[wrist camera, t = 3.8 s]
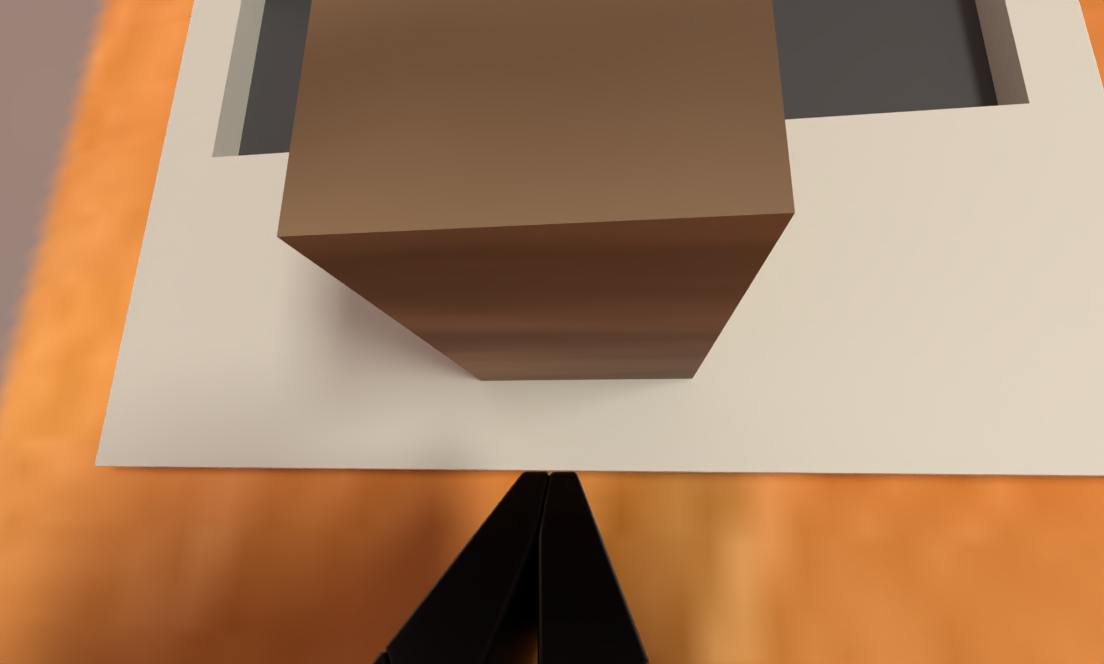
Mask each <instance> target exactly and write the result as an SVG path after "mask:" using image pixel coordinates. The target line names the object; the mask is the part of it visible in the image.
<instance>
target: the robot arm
mask: <svg viewBox="0 0 1104 664" xmlns="http://www.w3.org/2000/svg"><path fill="white" fill-rule="evenodd" d="M372 664H649V659H648V656H647V654H646V651H645V649H644V646H643V643H642V641H641V638H640V636H639V633H638V630H637V628H636V625H635V623H634V620H633V617H632V615H631V612H630V610H629V607H628V604H627V602H626V599H625V597H624V594H623V591H622V589H621V586H620V584H619V581H618V578H617V576H616V573H615V571H614V568H613V565H612V563H611V560H610V558H609V555H608V552H607V550H606V547H605V545H604V542H603V539H602V537H601V534H600V532H599V529H598V526H597V524H596V521H595V519H594V516H593V513H592V511H591V508H590V506H589V503H588V500H587V498H586V495H585V493H584V490H583V487H582V485H581V482H580V480H579V477H578V475H577V474H576V473H575V472H572V471H554V472H552V473H551V474H549V473H548V472H546V471H526V472H524V473H522V474H521V475H520V477H519V478H518V479H517V480H516V482H515V483H514V484H513V486H512V487H511V488H510V489H509V491H508V492H507V493H506V494H505V496H504V497H503V498H502V500H501V501H500V502H499V503H498V505H497V506H496V507H495V508H494V510H493V511H492V512H491V514H490V515H489V516H488V517H487V519H486V520H485V521H484V522H483V524H482V525H481V526H480V528H479V529H478V530H477V531H476V533H475V534H474V535H473V536H472V538H471V539H470V540H469V542H468V543H467V544H466V545H465V547H464V548H463V549H462V550H461V552H460V553H459V554H458V556H457V557H456V558H455V559H454V561H453V562H452V563H451V564H450V566H449V567H448V568H447V570H446V571H445V572H444V573H443V575H442V576H441V577H440V578H439V580H438V581H437V582H436V584H435V585H434V586H433V587H432V589H431V590H430V591H429V592H428V594H427V595H426V596H425V598H424V599H423V600H422V601H421V603H420V604H419V605H418V606H417V608H416V609H415V610H414V612H413V613H412V614H411V615H410V617H409V618H408V619H407V620H406V622H405V623H404V624H403V626H402V627H401V628H400V629H399V631H398V632H397V633H396V634H395V636H394V637H393V638H392V640H391V641H390V642H389V643H388V645H387V646H386V652H381V653H380V654H379V656H378V657H377V658H376V659H375V661H374V662H373V663H372Z"/></svg>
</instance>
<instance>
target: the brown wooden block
mask: <svg viewBox="0 0 1104 664" xmlns="http://www.w3.org/2000/svg"><path fill="white" fill-rule="evenodd" d="M794 214H795V207H794V198H793V189H792V180H791V171H790V161H789V152H788V143H787V134H786V124H785V115H784V106H783V97H782V88H781V78H780V69H779V60H778V51H777V42H776V32H775V23H774V14H773V5H772V0H312V3H311V10H310V17H309V23H308V30H307V37H306V43H305V50H304V57H303V64H302V70H301V77H300V84H299V90H298V97H297V104H296V111H295V117H294V124H293V131H292V137H291V144H290V151H289V158H288V164H287V171H286V178H285V184H284V191H283V198H282V205H281V211H280V218H279V225H278V231H277V237H278V238H279V239H281V240H282V241H284V242H285V243H286V244H288V245H289V246H291V247H292V248H293V249H295V250H296V251H298V252H299V253H301V254H302V255H303V256H305V257H306V258H308V259H309V260H310V261H312V262H313V263H315V264H316V265H318V266H319V267H320V268H322V269H323V270H325V271H326V272H327V273H329V274H330V275H332V276H333V277H335V278H336V279H337V280H339V281H340V282H342V283H343V284H344V285H346V286H347V287H349V288H350V289H352V290H353V291H354V292H356V293H357V294H359V295H360V296H362V297H363V298H364V299H366V300H367V301H369V302H370V303H371V304H373V305H374V306H376V307H377V308H379V309H380V310H381V311H383V312H384V313H386V314H387V315H388V316H390V317H391V318H393V319H394V320H396V321H397V322H398V323H400V324H401V325H403V326H404V327H405V328H407V329H408V330H410V331H411V332H413V333H414V334H415V335H417V336H418V337H420V338H421V339H422V340H424V341H425V342H427V343H428V344H430V345H431V346H432V347H434V348H435V349H437V350H438V351H439V352H441V353H442V354H444V355H445V356H447V357H448V358H449V359H451V360H452V361H454V362H455V363H457V364H458V365H459V366H461V367H462V368H464V369H465V370H466V371H468V372H469V373H471V374H472V375H474V376H475V377H476V378H478V379H479V380H481V381H517V380H609V379H693V377H694V375H695V374H696V372H697V371H698V369H699V367H700V366H701V364H702V362H703V361H704V359H705V358H706V356H707V354H708V353H709V351H710V350H711V348H712V346H713V345H714V343H715V341H716V340H717V338H718V337H719V335H720V333H721V332H722V330H723V329H724V327H725V325H726V324H727V322H728V320H729V319H730V317H731V316H732V314H733V312H734V311H735V309H736V308H737V306H738V304H739V303H740V301H741V299H742V298H743V296H744V295H745V293H746V291H747V290H748V288H749V287H750V285H751V283H752V282H753V280H754V278H755V277H756V275H757V274H758V272H759V270H760V269H761V267H762V266H763V264H764V262H765V261H766V259H767V257H768V256H769V254H770V253H771V251H772V249H773V248H774V246H775V245H776V243H777V241H778V240H779V238H780V236H781V235H782V233H783V232H784V230H785V228H786V227H787V225H788V224H789V222H790V220H791V219H792V217H793V215H794Z"/></svg>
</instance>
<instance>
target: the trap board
mask: <svg viewBox="0 0 1104 664" xmlns="http://www.w3.org/2000/svg"><path fill="white" fill-rule="evenodd" d="M311 3H312V0H195V1H194V5H193V10H192V15H191V19H190V24H189V29H188V33H187V38H186V43H185V47H184V52H183V56H182V61H181V66H180V70H179V75H178V80H177V84H176V89H175V94H174V98H173V103H172V108H171V112H170V117H169V122H168V126H167V131H166V136H165V140H164V145H163V150H162V154H161V159H160V164H159V168H158V173H157V178H156V182H155V187H154V192H153V196H152V201H151V206H150V210H149V215H148V220H147V224H146V229H145V234H144V238H143V243H142V247H141V252H140V257H139V261H138V266H137V271H136V275H135V280H134V285H133V289H132V294H131V299H130V303H129V308H128V313H127V317H126V322H125V327H124V331H123V336H122V341H121V345H120V350H119V355H118V359H117V364H116V369H115V373H114V378H113V383H112V387H111V392H110V397H109V401H108V406H107V411H106V415H105V420H104V424H103V429H102V434H101V438H100V443H99V448H98V452H97V457H96V462H95V466H115V467H166V468H269V469H373V470H476V471H580V472H683V473H787V474H890V475H994V476H1098V477H1104V88H1103V85H1102V81H1101V78H1100V74H1099V71H1098V67H1097V64H1096V60H1095V56H1094V53H1093V49H1092V46H1091V42H1090V39H1089V35H1088V31H1087V28H1086V24H1085V21H1084V17H1083V14H1082V10H1081V6H1080V3H1079V0H772V5H773V14H774V23H775V32H776V42H777V51H778V60H779V69H780V78H781V88H782V97H783V106H784V115H785V124H786V134H787V143H788V152H789V161H790V171H791V180H792V189H793V198H794V207H795V214H794V215H793V217H792V219H791V220H790V222H789V224H788V225H787V227H786V228H785V230H784V232H783V233H782V235H781V236H780V238H779V240H778V241H777V243H776V245H775V246H774V248H773V249H772V251H771V253H770V254H769V256H768V257H767V259H766V261H765V262H764V264H763V266H762V267H761V269H760V270H759V272H758V274H757V275H756V277H755V278H754V280H753V282H752V283H751V285H750V287H749V288H748V290H747V291H746V293H745V295H744V296H743V298H742V299H741V301H740V303H739V304H738V306H737V308H736V309H735V311H734V312H733V314H732V316H731V317H730V319H729V320H728V322H727V324H726V325H725V327H724V329H723V330H722V332H721V333H720V335H719V337H718V338H717V340H716V341H715V343H714V345H713V346H712V348H711V350H710V351H709V353H708V354H707V356H706V358H705V359H704V361H703V362H702V364H701V366H700V367H699V369H698V371H697V372H696V374H695V375H694V377H693V379H609V380H517V381H481V380H479V379H478V378H476V377H475V376H474V375H472V374H471V373H469V372H468V371H466V370H465V369H464V368H462V367H461V366H459V365H458V364H457V363H455V362H454V361H452V360H451V359H449V358H448V357H447V356H445V355H444V354H442V353H441V352H439V351H438V350H437V349H435V348H434V347H432V346H431V345H430V344H428V343H427V342H425V341H424V340H422V339H421V338H420V337H418V336H417V335H415V334H414V333H413V332H411V331H410V330H408V329H407V328H405V327H404V326H403V325H401V324H400V323H398V322H397V321H396V320H394V319H393V318H391V317H390V316H388V315H387V314H386V313H384V312H383V311H381V310H380V309H379V308H377V307H376V306H374V305H373V304H371V303H370V302H369V301H367V300H366V299H364V298H363V297H362V296H360V295H359V294H357V293H356V292H354V291H353V290H352V289H350V288H349V287H347V286H346V285H344V284H343V283H342V282H340V281H339V280H337V279H336V278H335V277H333V276H332V275H330V274H329V273H327V272H326V271H325V270H323V269H322V268H320V267H319V266H318V265H316V264H315V263H313V262H312V261H310V260H309V259H308V258H306V257H305V256H303V255H302V254H301V253H299V252H298V251H296V250H295V249H293V248H292V247H291V246H289V245H288V244H286V243H285V242H284V241H282V240H281V239H279V238H278V237H277V231H278V225H279V218H280V211H281V205H282V198H283V191H284V184H285V178H286V171H287V164H288V158H289V151H290V144H291V137H292V131H293V124H294V117H295V111H296V104H297V97H298V90H299V84H300V77H301V70H302V64H303V57H304V50H305V43H306V37H307V30H308V23H309V17H310V10H311Z"/></svg>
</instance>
